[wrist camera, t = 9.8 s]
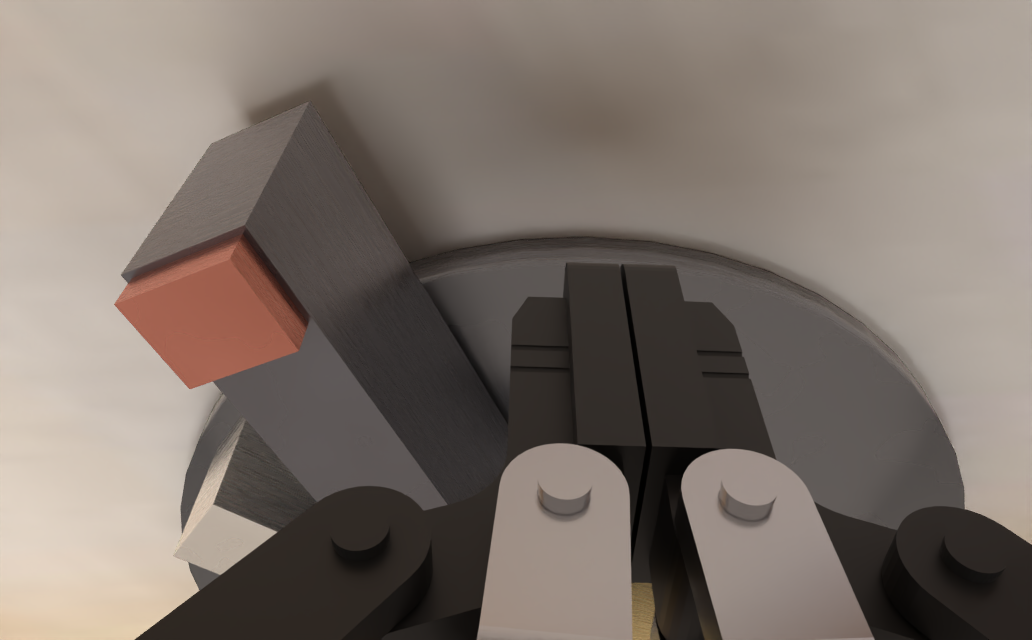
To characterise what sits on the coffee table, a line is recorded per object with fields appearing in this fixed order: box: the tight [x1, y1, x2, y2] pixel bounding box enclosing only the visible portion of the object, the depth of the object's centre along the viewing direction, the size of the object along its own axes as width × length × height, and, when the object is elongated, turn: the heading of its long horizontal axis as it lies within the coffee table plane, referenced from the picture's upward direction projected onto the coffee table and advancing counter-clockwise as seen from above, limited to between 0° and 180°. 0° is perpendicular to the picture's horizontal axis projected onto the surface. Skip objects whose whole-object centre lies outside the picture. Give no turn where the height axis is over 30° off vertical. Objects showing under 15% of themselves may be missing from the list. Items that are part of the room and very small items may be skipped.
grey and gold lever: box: [114, 101, 655, 640], centre depth 17 cm, size 19×9×5 cm, turn 24°
